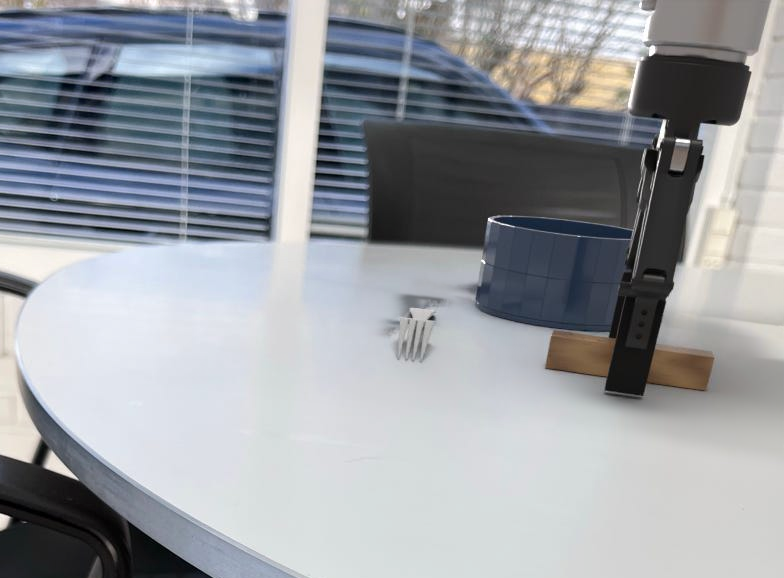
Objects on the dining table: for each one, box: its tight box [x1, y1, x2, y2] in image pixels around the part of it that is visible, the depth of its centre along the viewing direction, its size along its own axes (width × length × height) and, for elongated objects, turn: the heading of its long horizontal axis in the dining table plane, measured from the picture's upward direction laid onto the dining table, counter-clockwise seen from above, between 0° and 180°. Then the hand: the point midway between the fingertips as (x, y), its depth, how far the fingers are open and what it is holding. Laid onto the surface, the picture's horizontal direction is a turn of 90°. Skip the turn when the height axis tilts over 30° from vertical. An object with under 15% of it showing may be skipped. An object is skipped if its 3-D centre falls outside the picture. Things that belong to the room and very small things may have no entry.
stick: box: [544, 329, 716, 391], centre depth 81 cm, size 12×2×2 cm, turn 75°
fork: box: [397, 307, 437, 363], centre depth 89 cm, size 3×21×3 cm, turn 171°
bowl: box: [474, 215, 633, 332], centre depth 102 cm, size 15×15×8 cm
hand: (622, 373), depth 81 cm, fingers open, 13 cm apart
